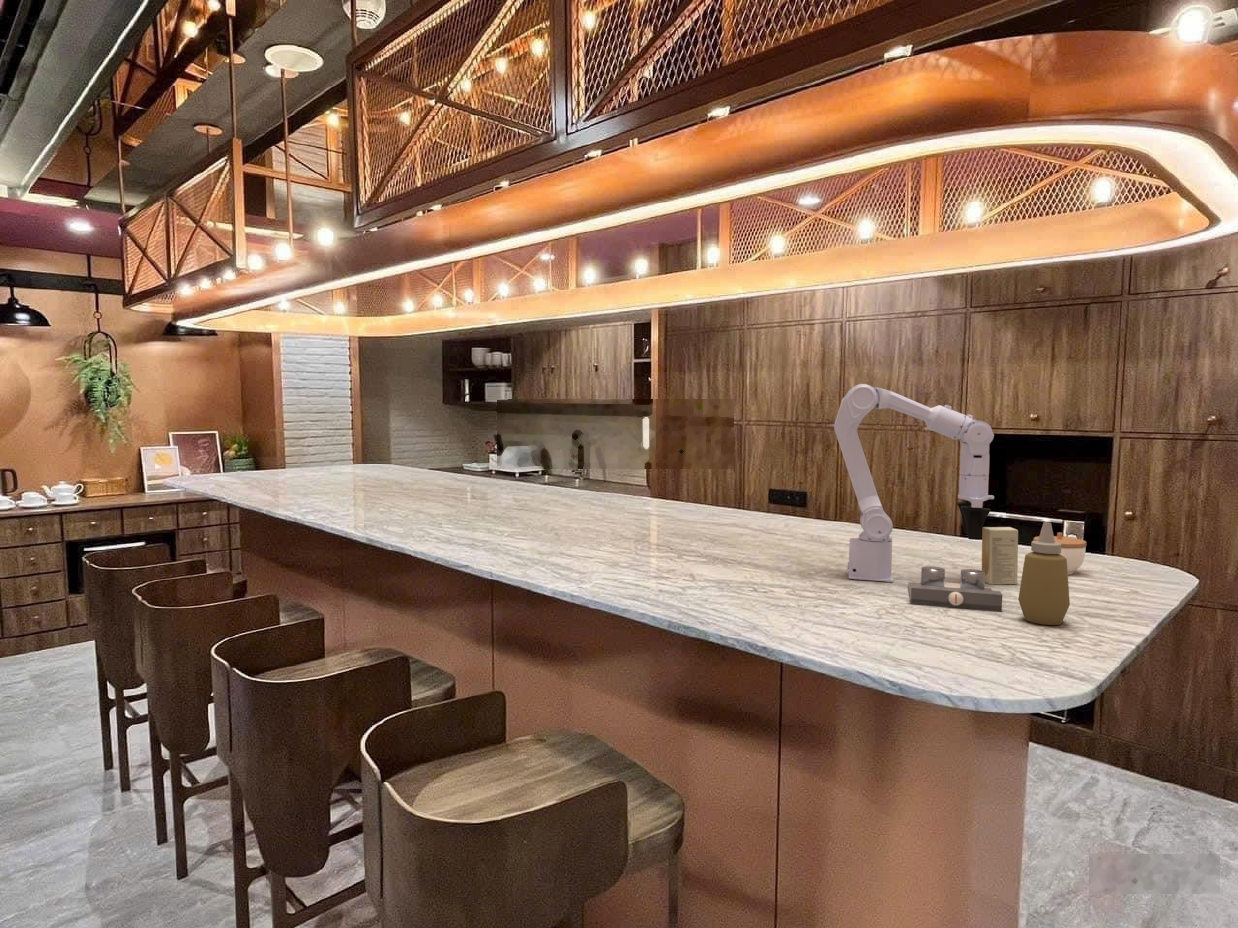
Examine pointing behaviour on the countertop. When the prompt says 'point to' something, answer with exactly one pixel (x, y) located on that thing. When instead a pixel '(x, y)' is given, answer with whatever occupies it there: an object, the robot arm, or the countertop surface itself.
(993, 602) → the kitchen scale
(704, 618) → the countertop surface
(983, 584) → the cylinder
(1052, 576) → the squeeze bottle
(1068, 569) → the lidded jar
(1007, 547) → the skincare box
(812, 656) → the countertop surface
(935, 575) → the block
